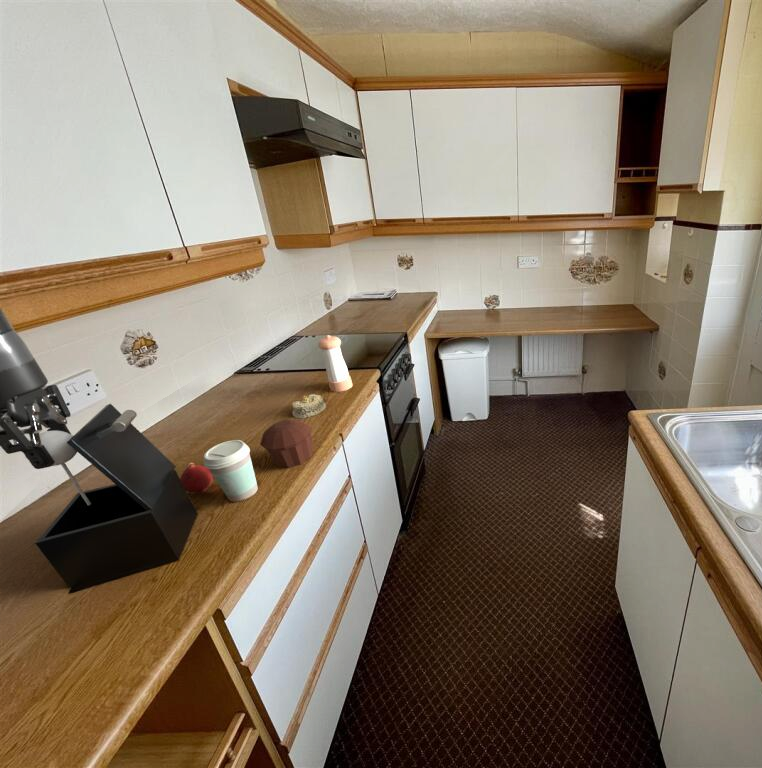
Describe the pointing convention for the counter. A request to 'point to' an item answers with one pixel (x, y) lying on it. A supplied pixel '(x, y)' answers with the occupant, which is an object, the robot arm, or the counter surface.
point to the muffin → (288, 442)
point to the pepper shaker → (335, 364)
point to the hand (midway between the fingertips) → (57, 455)
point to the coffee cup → (232, 469)
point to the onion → (196, 478)
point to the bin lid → (124, 455)
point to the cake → (308, 406)
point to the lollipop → (61, 453)
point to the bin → (117, 534)
